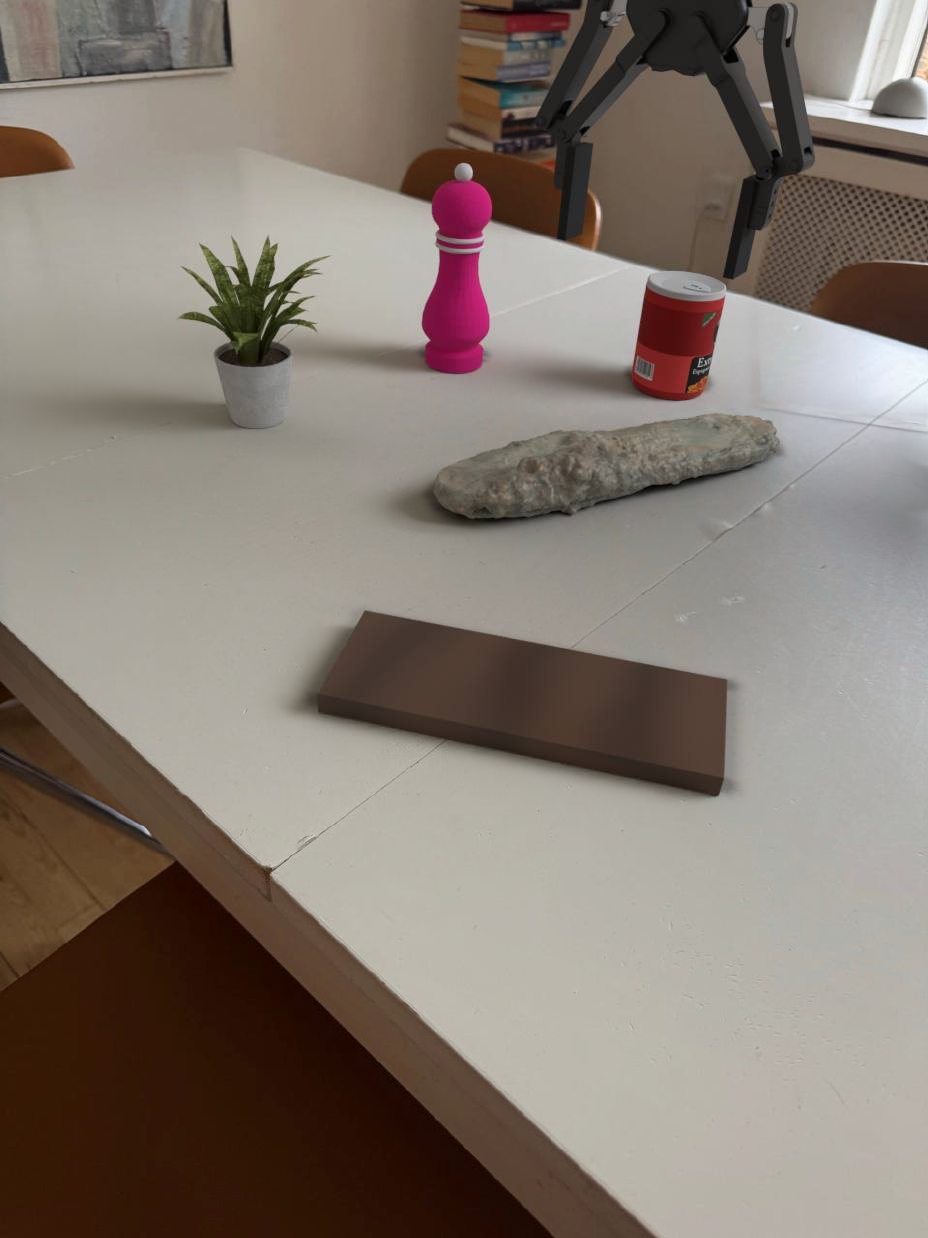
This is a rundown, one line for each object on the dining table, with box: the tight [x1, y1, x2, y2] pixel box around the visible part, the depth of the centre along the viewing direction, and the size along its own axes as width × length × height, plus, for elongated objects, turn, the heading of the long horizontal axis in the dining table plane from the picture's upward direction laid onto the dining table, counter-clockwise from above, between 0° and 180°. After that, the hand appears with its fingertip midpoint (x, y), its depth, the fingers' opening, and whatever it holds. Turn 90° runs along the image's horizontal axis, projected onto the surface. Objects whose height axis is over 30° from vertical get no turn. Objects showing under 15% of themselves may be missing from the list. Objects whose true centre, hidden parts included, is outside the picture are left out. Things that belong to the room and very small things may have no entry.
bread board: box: [316, 609, 728, 797], centre depth 60 cm, size 24×9×2 cm, turn 76°
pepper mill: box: [421, 162, 493, 374], centre depth 99 cm, size 7×7×20 cm
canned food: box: [631, 270, 727, 401], centre depth 100 cm, size 8×8×11 cm
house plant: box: [177, 234, 333, 430], centre depth 85 cm, size 14×14×16 cm
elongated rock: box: [433, 412, 781, 520], centre depth 84 cm, size 35×5×10 cm
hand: (648, 255), depth 72 cm, fingers open, 13 cm apart
